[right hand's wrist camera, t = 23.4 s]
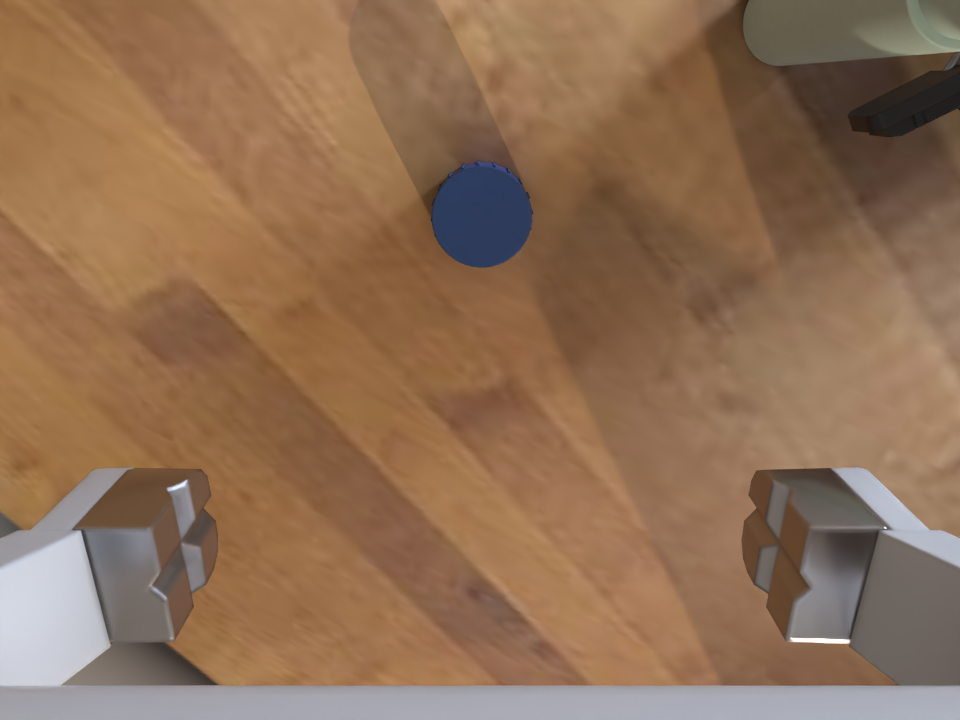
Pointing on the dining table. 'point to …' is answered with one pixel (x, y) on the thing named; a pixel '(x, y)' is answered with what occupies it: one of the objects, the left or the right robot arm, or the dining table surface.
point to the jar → (849, 29)
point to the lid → (481, 214)
